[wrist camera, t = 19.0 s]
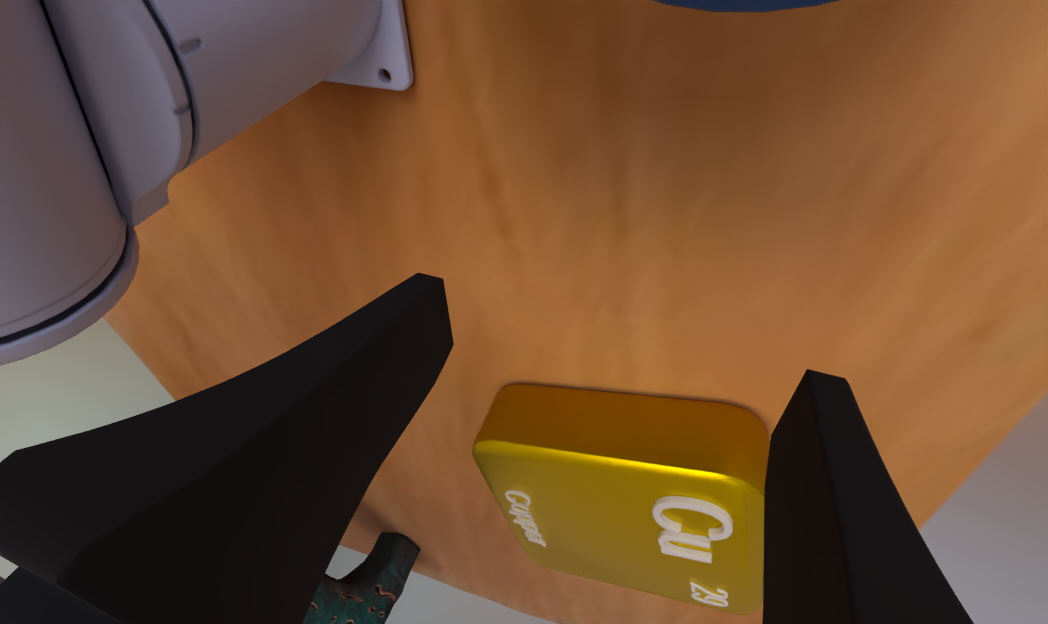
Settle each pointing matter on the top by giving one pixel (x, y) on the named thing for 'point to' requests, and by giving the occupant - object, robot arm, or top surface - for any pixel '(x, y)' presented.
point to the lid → (744, 4)
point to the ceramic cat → (366, 585)
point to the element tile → (633, 489)
